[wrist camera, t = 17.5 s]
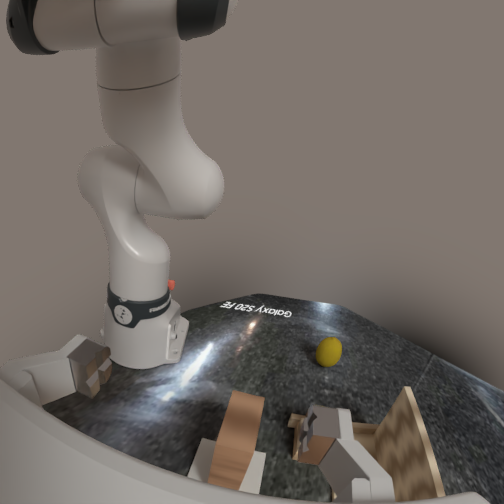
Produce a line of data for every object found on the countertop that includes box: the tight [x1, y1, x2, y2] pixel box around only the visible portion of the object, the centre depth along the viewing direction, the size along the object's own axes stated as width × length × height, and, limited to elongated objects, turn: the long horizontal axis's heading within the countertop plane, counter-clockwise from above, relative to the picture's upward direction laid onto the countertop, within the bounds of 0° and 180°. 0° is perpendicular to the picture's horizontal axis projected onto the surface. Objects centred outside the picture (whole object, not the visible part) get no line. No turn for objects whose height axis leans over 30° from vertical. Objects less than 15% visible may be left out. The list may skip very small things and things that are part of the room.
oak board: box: [208, 390, 265, 490], centre depth 32 cm, size 9×4×13 cm, turn 171°
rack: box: [288, 387, 445, 502], centre depth 32 cm, size 25×17×13 cm
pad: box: [187, 438, 266, 494], centre depth 35 cm, size 10×10×1 cm
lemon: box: [316, 337, 342, 367], centre depth 62 cm, size 6×6×8 cm
